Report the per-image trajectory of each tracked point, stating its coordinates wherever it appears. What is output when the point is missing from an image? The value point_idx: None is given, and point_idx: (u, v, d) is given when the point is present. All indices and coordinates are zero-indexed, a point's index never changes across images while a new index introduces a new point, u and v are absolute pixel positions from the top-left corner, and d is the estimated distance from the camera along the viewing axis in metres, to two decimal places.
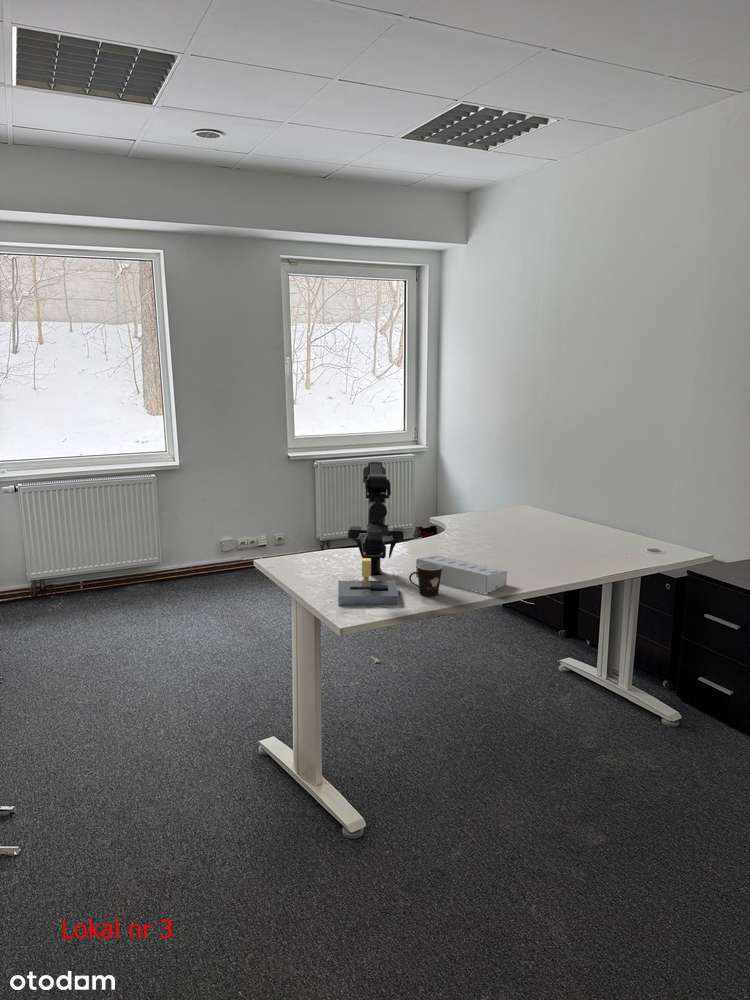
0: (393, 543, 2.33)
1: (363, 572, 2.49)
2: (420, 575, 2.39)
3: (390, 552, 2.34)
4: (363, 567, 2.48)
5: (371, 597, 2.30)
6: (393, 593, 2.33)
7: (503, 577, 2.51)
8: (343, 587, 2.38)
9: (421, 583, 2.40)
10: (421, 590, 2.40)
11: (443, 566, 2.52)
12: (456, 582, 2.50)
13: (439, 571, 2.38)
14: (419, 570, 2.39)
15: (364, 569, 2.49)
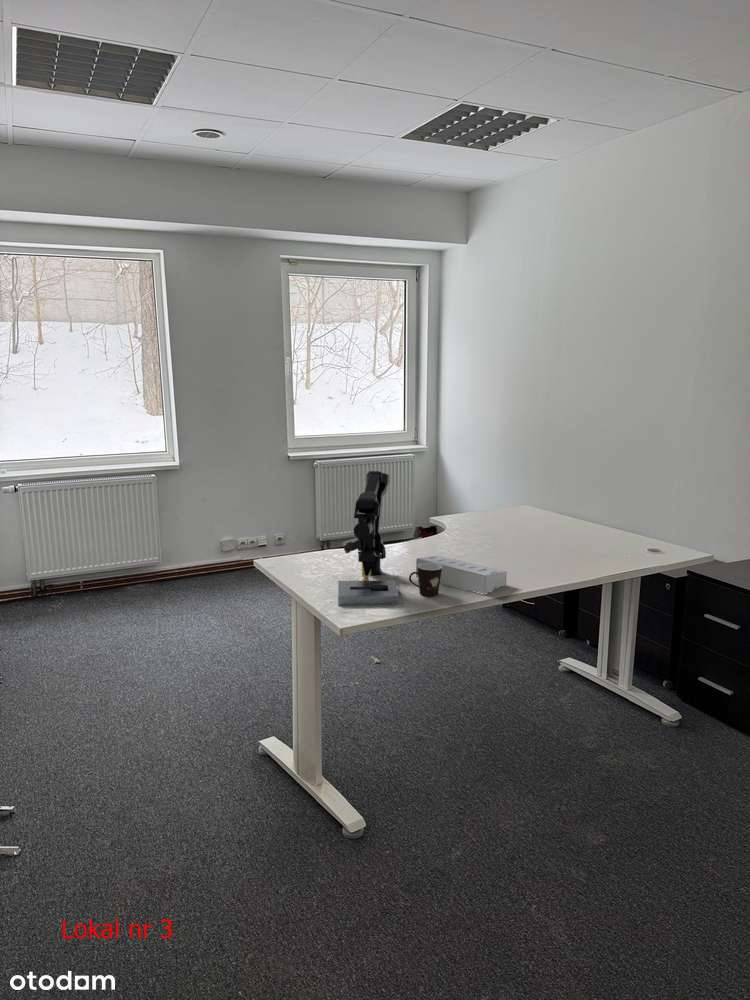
0: None
1: (363, 572, 2.49)
2: (420, 575, 2.39)
3: None
4: None
5: (371, 597, 2.30)
6: (393, 593, 2.33)
7: (503, 577, 2.51)
8: (343, 587, 2.38)
9: (421, 583, 2.40)
10: (421, 590, 2.40)
11: (442, 566, 2.52)
12: (456, 582, 2.50)
13: (439, 571, 2.38)
14: (419, 570, 2.39)
15: None
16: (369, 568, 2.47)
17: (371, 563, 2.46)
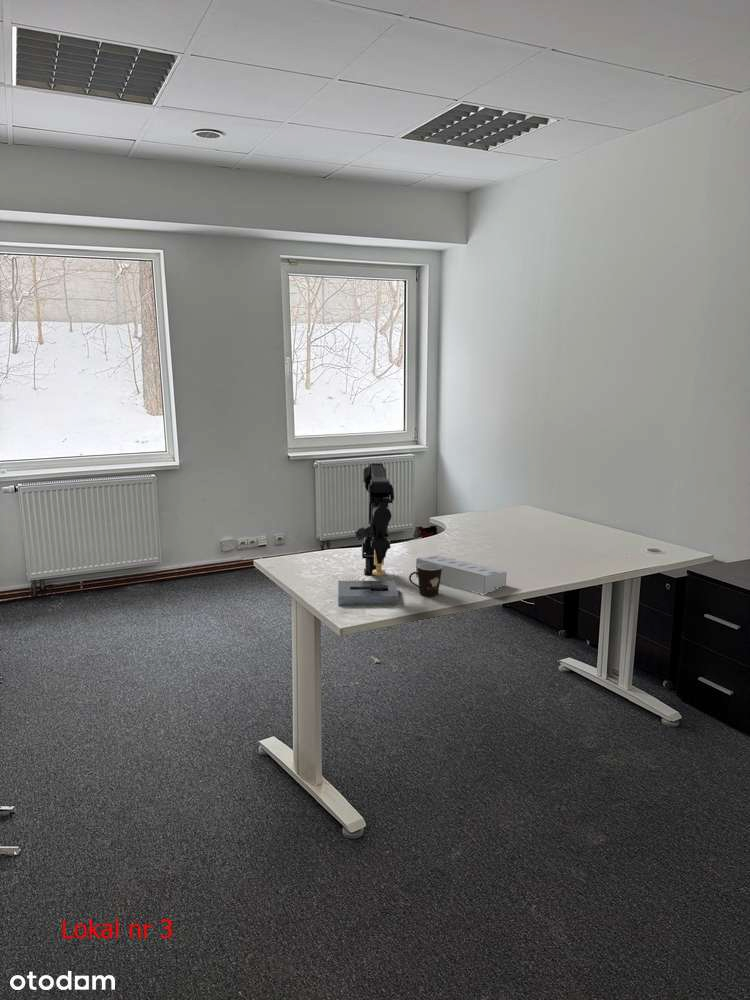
0: (374, 548, 2.32)
1: (376, 560, 2.35)
2: (420, 575, 2.39)
3: None
4: None
5: (371, 597, 2.30)
6: (393, 593, 2.33)
7: (503, 577, 2.51)
8: (343, 587, 2.38)
9: (421, 583, 2.40)
10: (421, 590, 2.40)
11: (442, 566, 2.52)
12: (455, 582, 2.50)
13: (439, 571, 2.38)
14: (419, 570, 2.39)
15: None
16: (382, 556, 2.33)
17: (384, 550, 2.32)
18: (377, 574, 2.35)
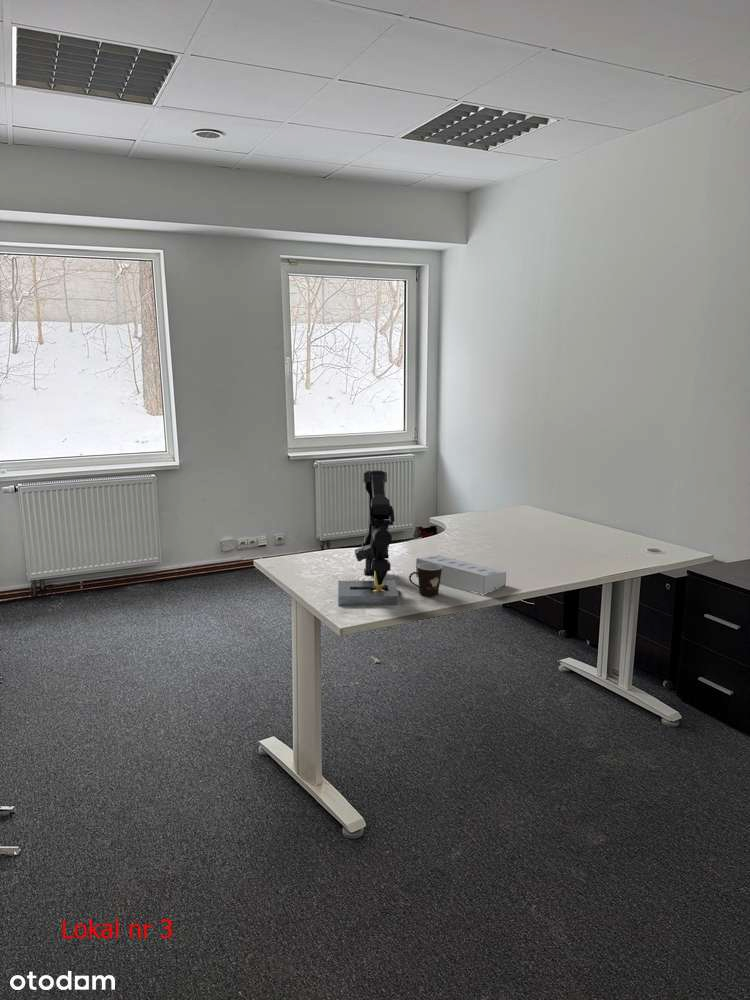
0: None
1: (376, 581, 2.36)
2: (420, 575, 2.39)
3: None
4: (376, 576, 2.36)
5: (371, 597, 2.30)
6: (393, 593, 2.33)
7: (502, 578, 2.50)
8: (343, 587, 2.38)
9: (421, 583, 2.40)
10: (421, 590, 2.40)
11: (442, 566, 2.52)
12: (455, 582, 2.49)
13: (439, 571, 2.38)
14: (419, 570, 2.39)
15: None
16: (382, 577, 2.35)
17: (385, 572, 2.34)
18: None
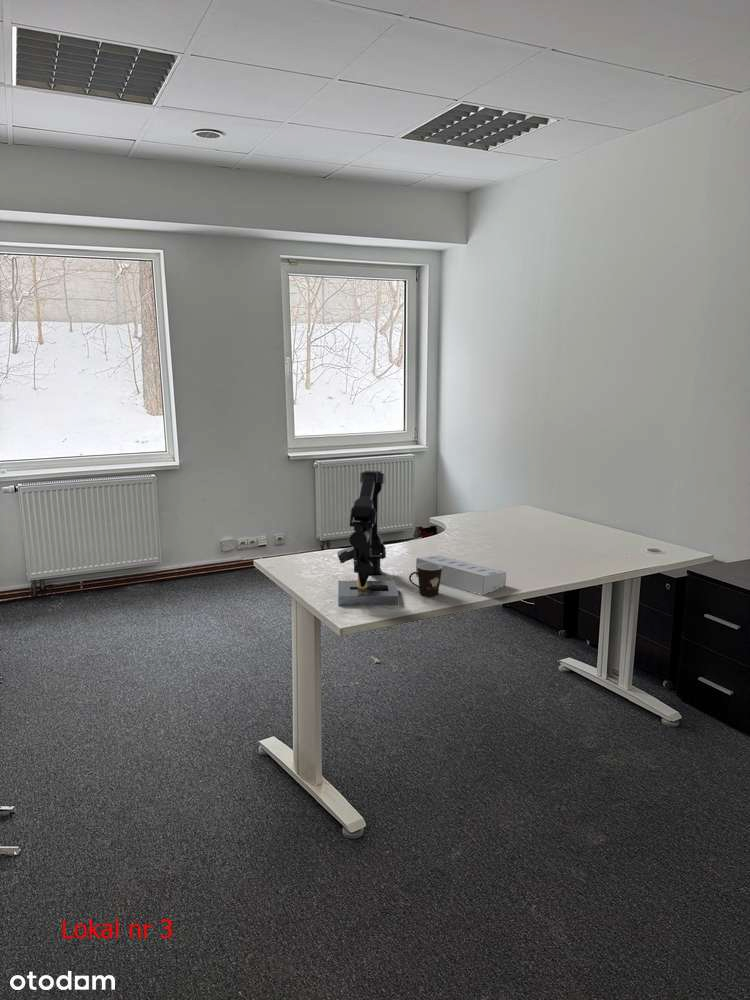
0: None
1: (359, 583, 2.36)
2: (420, 575, 2.39)
3: None
4: None
5: (371, 597, 2.30)
6: (393, 593, 2.33)
7: (502, 578, 2.50)
8: (343, 587, 2.38)
9: (421, 583, 2.40)
10: (421, 590, 2.40)
11: (442, 566, 2.52)
12: (454, 583, 2.49)
13: (439, 571, 2.38)
14: (419, 570, 2.39)
15: None
16: (365, 579, 2.34)
17: (367, 573, 2.33)
18: None
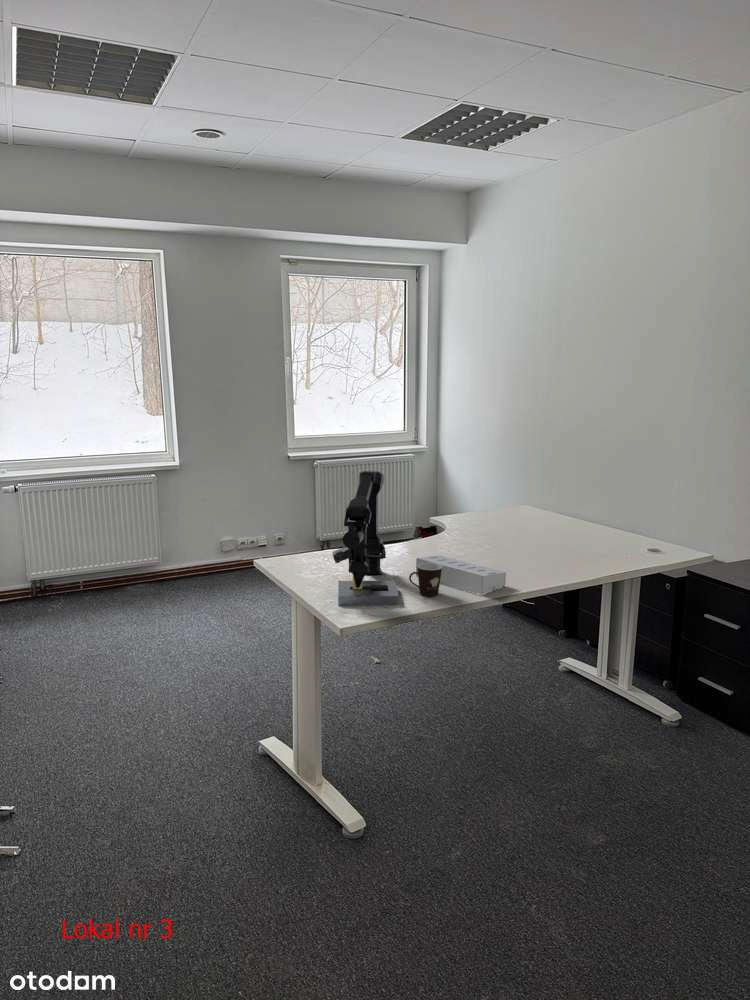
0: None
1: (354, 584, 2.36)
2: (420, 575, 2.39)
3: None
4: None
5: (371, 597, 2.30)
6: (393, 593, 2.33)
7: (502, 578, 2.50)
8: (343, 587, 2.38)
9: (421, 583, 2.40)
10: (421, 590, 2.40)
11: None
12: (454, 583, 2.49)
13: (439, 571, 2.38)
14: (419, 570, 2.39)
15: None
16: (360, 580, 2.33)
17: (362, 574, 2.32)
18: None
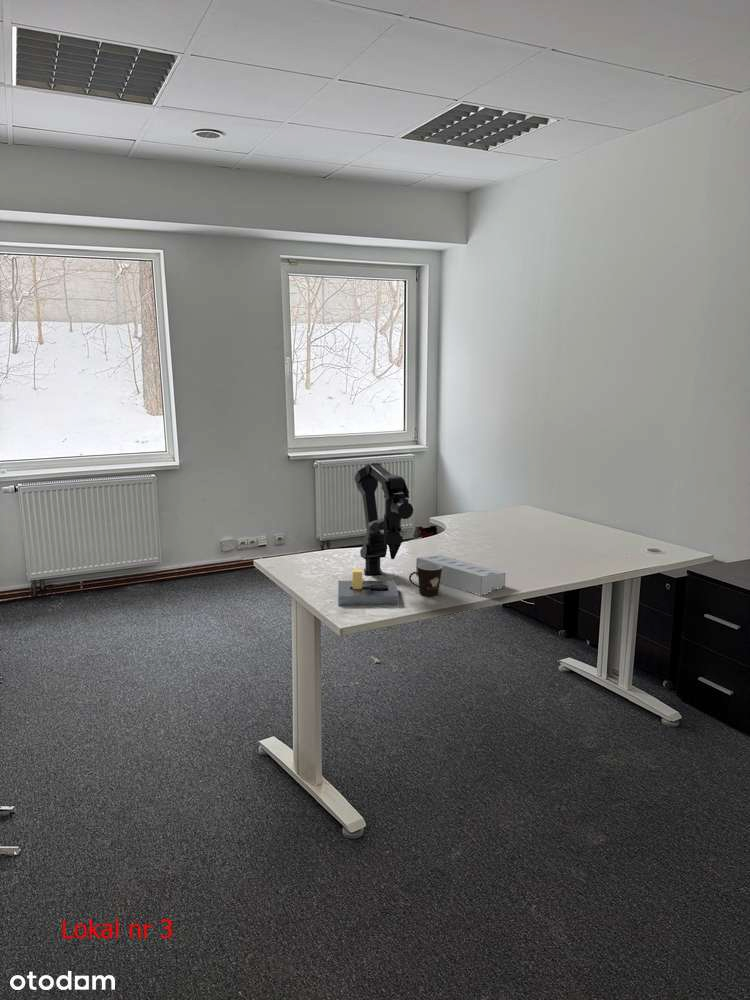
0: None
1: (354, 584, 2.36)
2: (420, 575, 2.39)
3: None
4: (354, 579, 2.36)
5: (371, 597, 2.30)
6: (393, 593, 2.33)
7: (501, 579, 2.49)
8: (343, 587, 2.38)
9: (421, 583, 2.40)
10: (421, 590, 2.40)
11: None
12: (453, 583, 2.49)
13: (439, 571, 2.38)
14: (419, 570, 2.39)
15: (355, 581, 2.36)
16: (395, 551, 2.41)
17: (397, 546, 2.40)
18: None
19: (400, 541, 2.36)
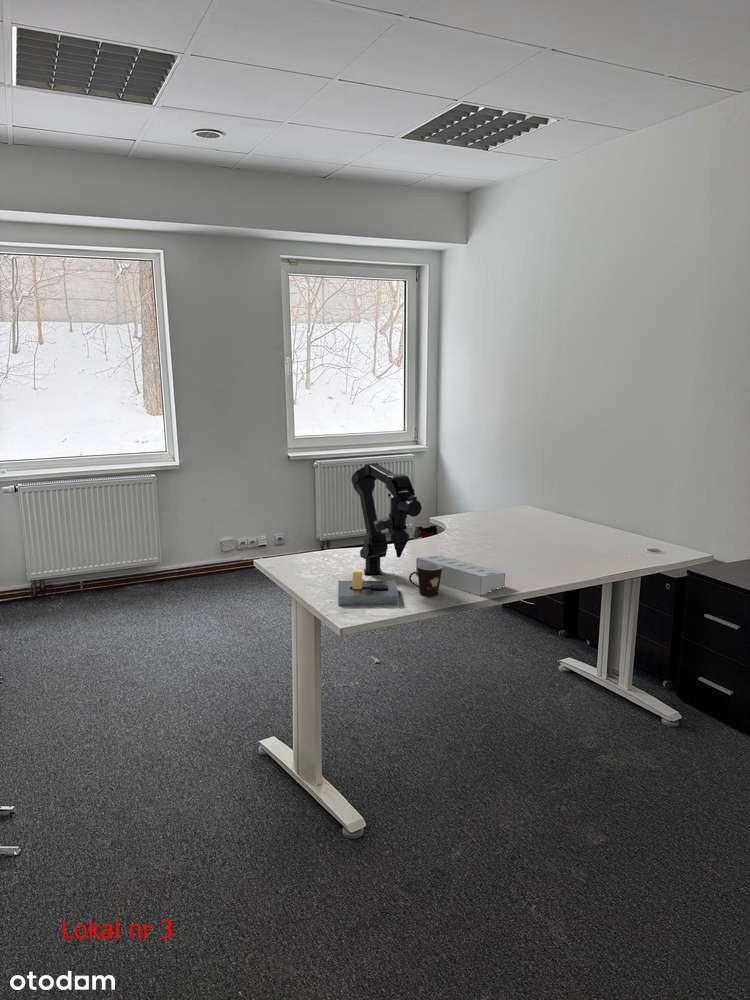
0: None
1: (354, 584, 2.36)
2: (420, 575, 2.39)
3: (396, 551, 2.43)
4: (354, 579, 2.36)
5: (371, 597, 2.30)
6: (393, 593, 2.33)
7: (501, 579, 2.49)
8: (343, 587, 2.38)
9: (421, 583, 2.40)
10: (421, 590, 2.40)
11: None
12: (453, 583, 2.49)
13: (439, 571, 2.38)
14: (419, 570, 2.39)
15: (355, 581, 2.36)
16: (401, 549, 2.42)
17: (403, 544, 2.41)
18: None
19: (407, 539, 2.38)
